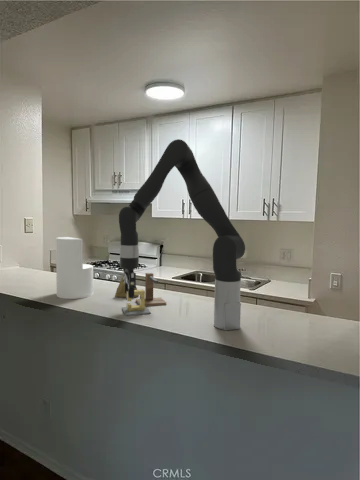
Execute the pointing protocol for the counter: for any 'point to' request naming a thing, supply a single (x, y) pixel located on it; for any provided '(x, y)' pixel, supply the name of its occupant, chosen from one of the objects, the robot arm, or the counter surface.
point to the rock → (122, 290)
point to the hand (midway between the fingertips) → (129, 295)
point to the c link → (142, 301)
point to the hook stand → (150, 292)
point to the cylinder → (72, 270)
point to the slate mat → (135, 311)
